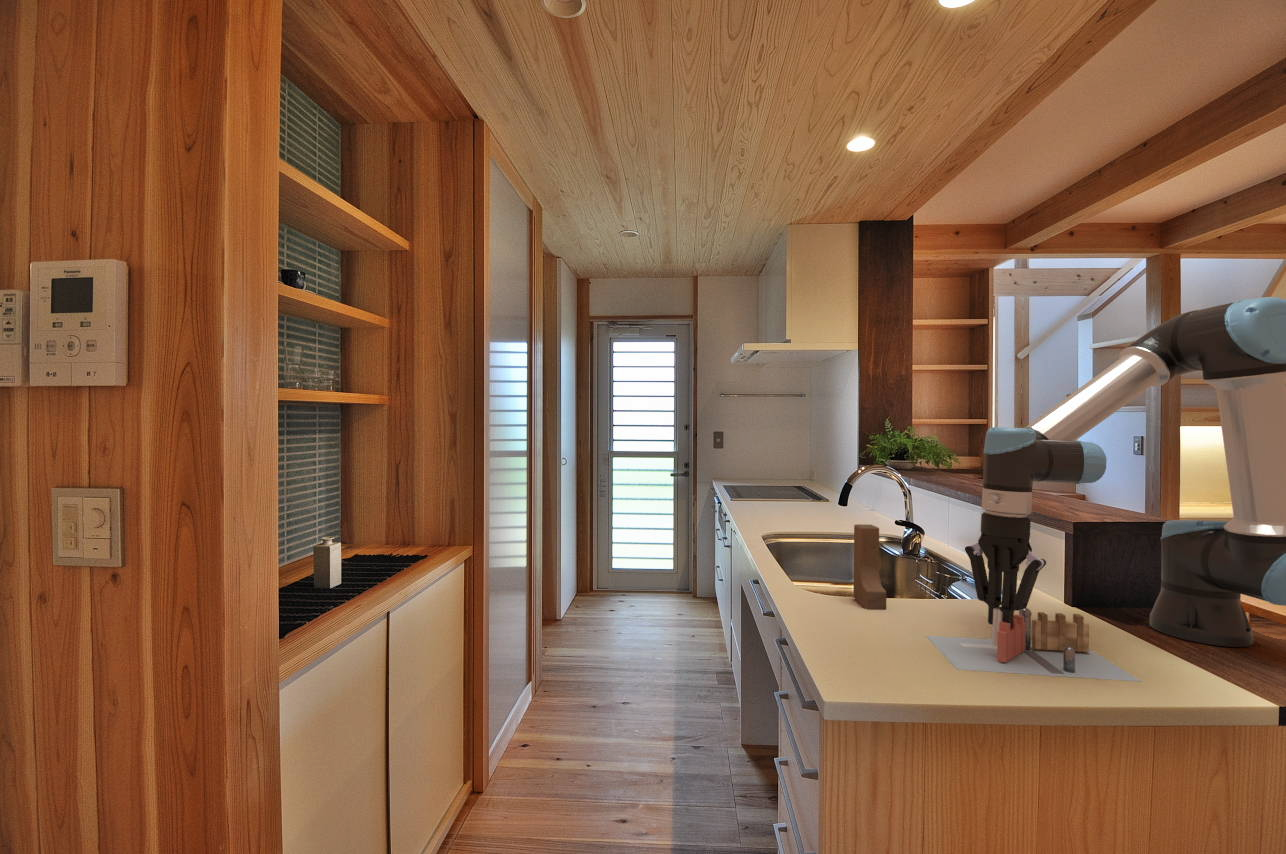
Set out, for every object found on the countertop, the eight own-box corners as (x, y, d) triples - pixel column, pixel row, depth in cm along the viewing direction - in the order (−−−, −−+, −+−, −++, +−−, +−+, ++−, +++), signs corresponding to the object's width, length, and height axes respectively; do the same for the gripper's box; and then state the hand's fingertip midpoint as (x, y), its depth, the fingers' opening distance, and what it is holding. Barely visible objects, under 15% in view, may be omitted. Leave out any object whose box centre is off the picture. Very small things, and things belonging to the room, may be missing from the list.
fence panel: (1017, 647, 107) (1017, 613, 107) (1025, 650, 106) (1026, 615, 106) (996, 660, 101) (997, 623, 101) (1005, 662, 100) (1005, 625, 100)
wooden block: (887, 611, 130) (887, 531, 130) (866, 611, 130) (867, 530, 130) (871, 599, 139) (872, 524, 139) (852, 599, 139) (853, 524, 139)
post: (1027, 647, 108) (1028, 606, 108) (1033, 651, 107) (1033, 609, 107) (1016, 646, 109) (1016, 605, 109) (1021, 650, 107) (1021, 609, 107)
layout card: (1082, 646, 110) (1082, 644, 110) (1142, 684, 94) (1142, 681, 94) (925, 637, 114) (925, 635, 114) (957, 671, 98) (957, 669, 98)
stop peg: (1071, 669, 99) (1071, 645, 99) (1077, 673, 97) (1077, 649, 97) (1061, 668, 99) (1061, 645, 99) (1066, 672, 97) (1067, 648, 97)
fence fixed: (1084, 649, 107) (1085, 614, 107) (1089, 652, 105) (1089, 617, 105) (1031, 646, 108) (1031, 611, 108) (1035, 649, 107) (1035, 614, 107)
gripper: (958, 509, 107) (952, 636, 108) (1035, 520, 96) (1028, 662, 97) (980, 507, 111) (974, 629, 112) (1056, 518, 100) (1049, 653, 101)
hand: (999, 644), depth 104 cm, fingers closed
